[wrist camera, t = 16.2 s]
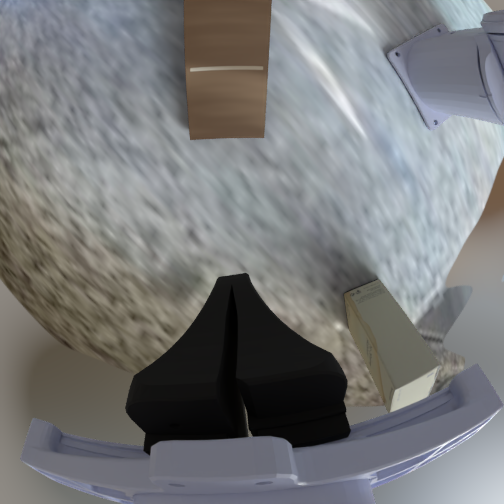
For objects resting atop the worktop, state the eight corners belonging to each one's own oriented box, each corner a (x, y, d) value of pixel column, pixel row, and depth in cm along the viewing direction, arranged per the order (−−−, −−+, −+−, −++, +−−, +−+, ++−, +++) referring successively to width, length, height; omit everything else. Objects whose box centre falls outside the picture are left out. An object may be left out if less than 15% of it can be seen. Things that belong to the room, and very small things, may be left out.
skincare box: (342, 292, 26) (393, 389, 16) (380, 276, 26) (442, 363, 15) (348, 331, 29) (387, 418, 19) (382, 317, 29) (429, 398, 18)
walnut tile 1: (192, 131, 18) (187, 1, 11) (261, 129, 19) (268, -1, 11) (190, 140, 17) (183, -2, 10) (264, 138, 17) (271, -4, 10)
